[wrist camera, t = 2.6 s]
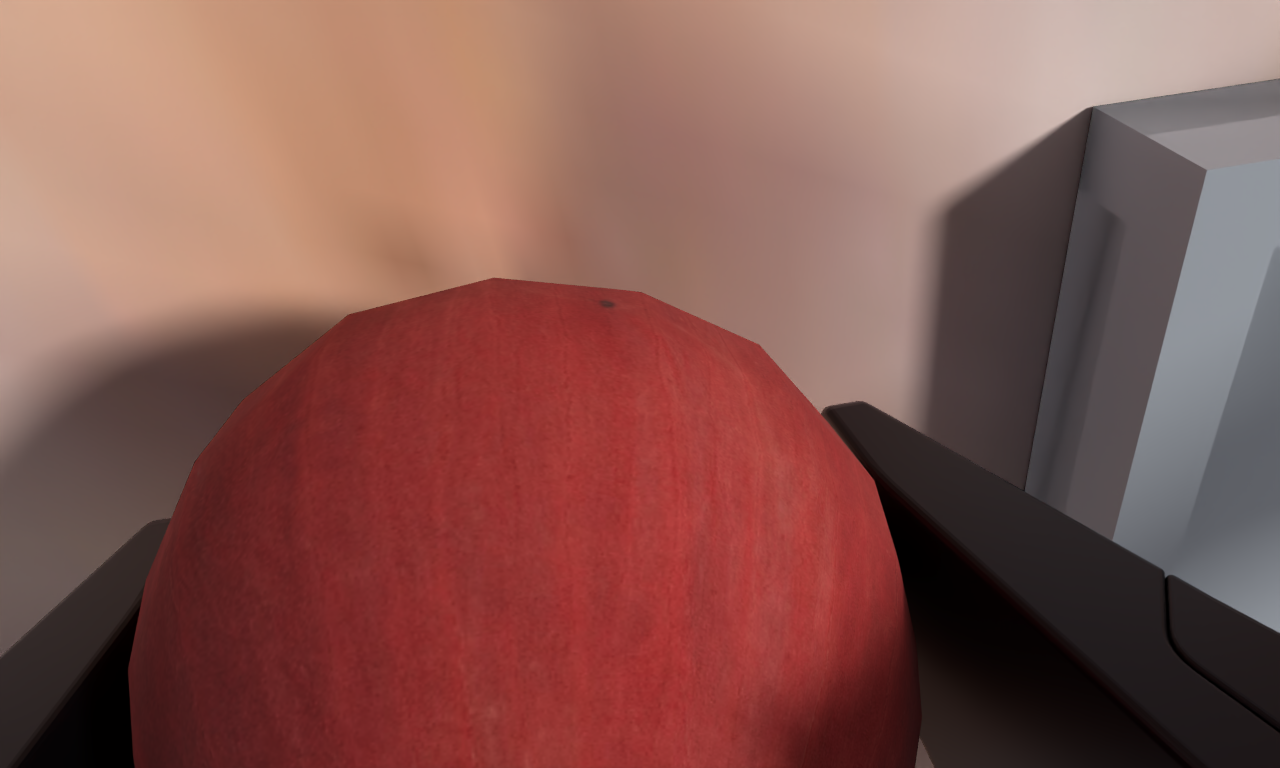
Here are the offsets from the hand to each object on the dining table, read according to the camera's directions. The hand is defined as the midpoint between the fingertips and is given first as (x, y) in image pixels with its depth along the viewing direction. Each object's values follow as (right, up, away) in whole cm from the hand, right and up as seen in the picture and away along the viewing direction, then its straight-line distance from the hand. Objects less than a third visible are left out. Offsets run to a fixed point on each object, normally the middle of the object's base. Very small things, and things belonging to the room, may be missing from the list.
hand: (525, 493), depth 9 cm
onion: (0, +1, +2) cm, 2 cm away
